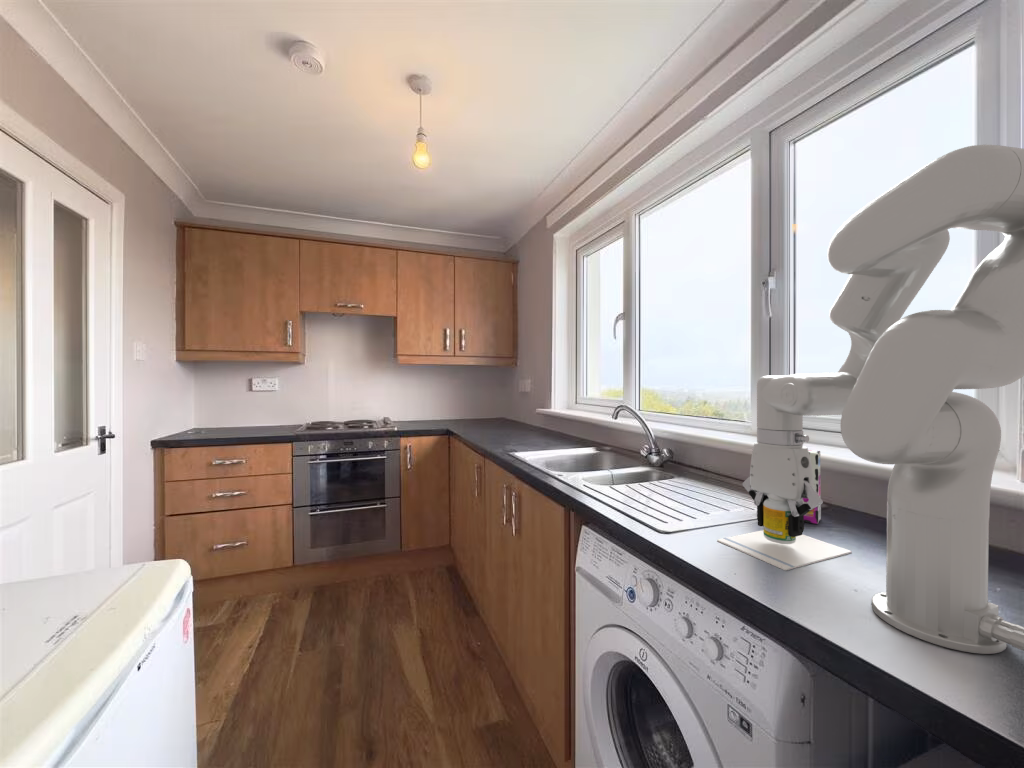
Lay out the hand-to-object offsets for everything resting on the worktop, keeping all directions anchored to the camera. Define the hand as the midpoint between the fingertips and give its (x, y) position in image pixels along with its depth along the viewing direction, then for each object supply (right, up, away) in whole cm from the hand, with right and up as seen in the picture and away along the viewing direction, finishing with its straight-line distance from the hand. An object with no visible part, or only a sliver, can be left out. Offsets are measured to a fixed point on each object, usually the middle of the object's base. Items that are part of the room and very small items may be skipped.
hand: (779, 529), depth 80 cm
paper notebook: (+1, -4, +1) cm, 4 cm away
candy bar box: (+15, -4, +18) cm, 24 cm away
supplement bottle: (0, -2, 0) cm, 2 cm away
